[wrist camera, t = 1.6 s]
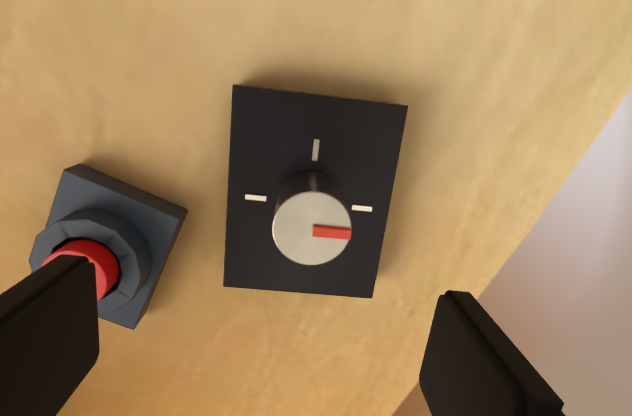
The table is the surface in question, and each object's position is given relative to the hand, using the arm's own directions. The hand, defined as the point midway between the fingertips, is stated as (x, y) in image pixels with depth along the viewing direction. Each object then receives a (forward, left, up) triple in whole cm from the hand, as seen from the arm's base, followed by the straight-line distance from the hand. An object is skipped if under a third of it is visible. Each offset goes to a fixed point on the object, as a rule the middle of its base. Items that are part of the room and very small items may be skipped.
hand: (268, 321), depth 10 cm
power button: (+9, -11, -14) cm, 20 cm away
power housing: (+9, -11, -18) cm, 23 cm away
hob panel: (+1, +2, -18) cm, 18 cm away
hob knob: (+1, +2, -15) cm, 16 cm away
